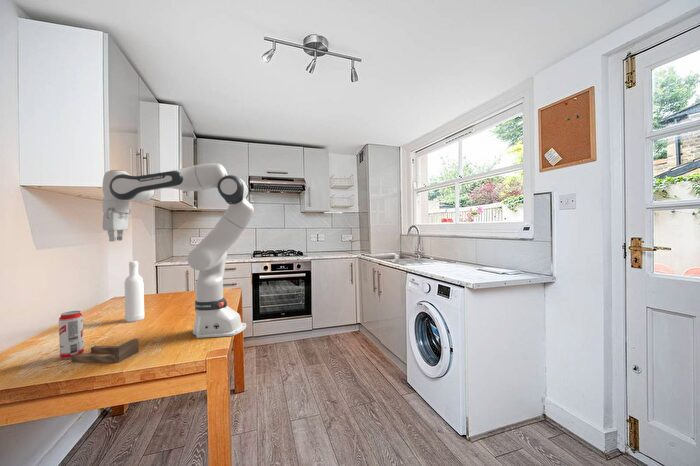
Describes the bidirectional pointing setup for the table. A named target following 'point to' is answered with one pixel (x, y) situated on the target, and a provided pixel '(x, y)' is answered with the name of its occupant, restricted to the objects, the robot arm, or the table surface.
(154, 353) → the table surface
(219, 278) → the robot arm
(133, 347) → the rest
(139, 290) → the bottle
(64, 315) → the beer can
